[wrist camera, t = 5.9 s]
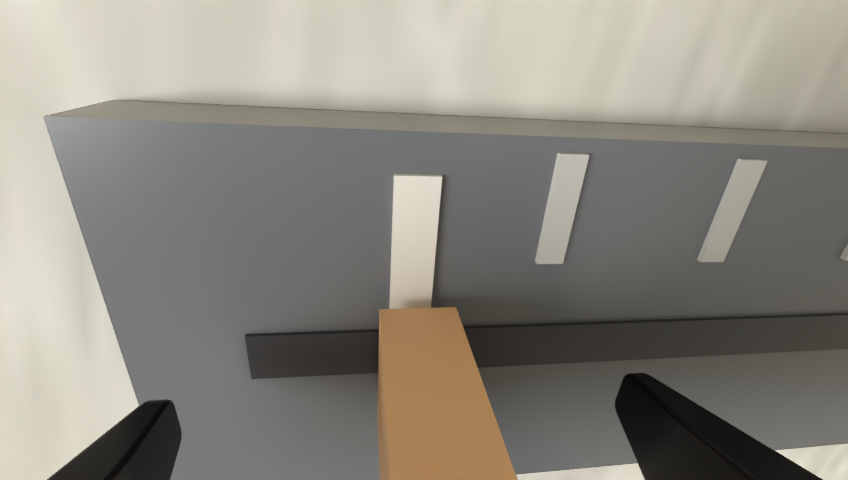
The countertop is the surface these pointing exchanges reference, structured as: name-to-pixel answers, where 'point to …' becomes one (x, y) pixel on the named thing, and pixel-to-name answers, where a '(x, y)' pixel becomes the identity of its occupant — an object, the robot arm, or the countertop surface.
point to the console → (459, 273)
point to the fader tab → (434, 402)
